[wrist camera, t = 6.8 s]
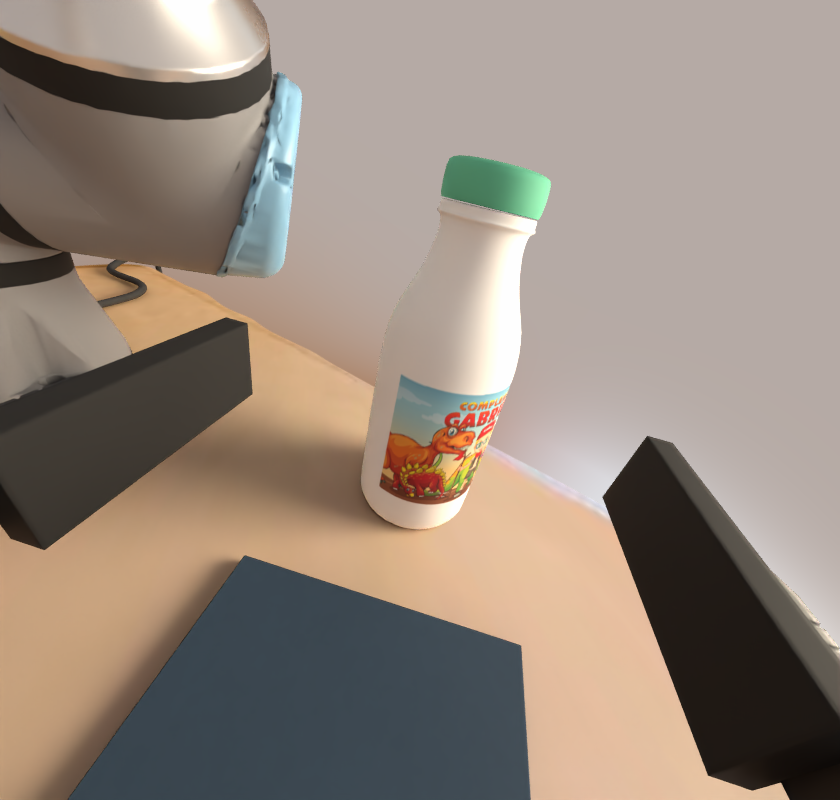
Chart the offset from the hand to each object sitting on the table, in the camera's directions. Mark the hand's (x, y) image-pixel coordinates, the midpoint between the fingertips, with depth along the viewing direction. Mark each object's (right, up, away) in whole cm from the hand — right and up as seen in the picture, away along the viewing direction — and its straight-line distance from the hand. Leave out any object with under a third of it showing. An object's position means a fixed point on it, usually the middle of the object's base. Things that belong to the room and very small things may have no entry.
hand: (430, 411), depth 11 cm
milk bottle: (-1, -6, +14) cm, 15 cm away
